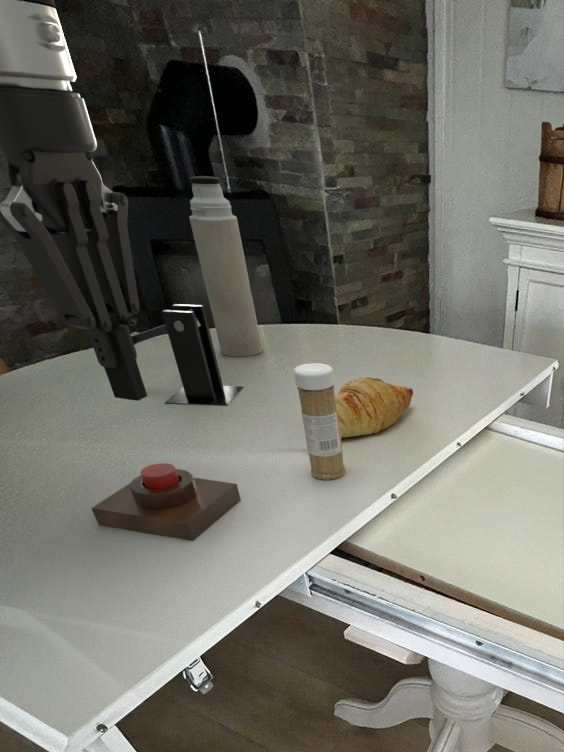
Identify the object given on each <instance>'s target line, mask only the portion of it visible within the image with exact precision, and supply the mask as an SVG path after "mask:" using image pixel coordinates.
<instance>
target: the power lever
mask: <svg viewBox="0 0 564 752" xmlns="http://www.w3.org/2000/svg"><path fill="white" fill-rule="evenodd" d="M187 311H193V309H190V310H187ZM194 314H195V313H194ZM195 318H196V321H197V325H198V327H200V326H201V324H200V322H199V320H198V318H197V316H196V314H195ZM130 334H131V337H132V340H133V343H134V346H136V345H137V344H139V343H141V342H145V341H147V340H151V339H153V338H155V337H159V336H161V335H165V334H168V332H167V329H166V325H165V324H162V325H159V326H157V327H153V328H150V329H147V330H145V331H142V332H138V331H134V332H132V333H130Z"/></svg>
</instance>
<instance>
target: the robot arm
mask: <svg viewBox="0 0 564 752" xmlns="http://www.w3.org/2000/svg"><path fill="white" fill-rule="evenodd" d="M76 80H77V74H76V72H75V68H74V65H73V62H72V59H71V55H70V52H69V48H68V45H67V41H66V38H65V36H64V32H63V29H62V25H61V22H60V19H59V16H58V13H57V9H56V4H55V0H0V152H1V154H2V155H3V157H4V161H5V169H6V178H7V182H8V184H9V186H10V190H9V192H8V194H7V195H6V197H5V199H4V200H0V222H1V224H2V225H3V226H4V227H5V228H6V229H7V230H8V231H9V233H10V234H12V236H13V238H14V239H15V241H16V242H17V244H18V246H19V247H20V249H21V251H22V253H23V254H24V256H25V258H26V260H27V261H28V264H29V265H30V267H31V268H32V270H33V271H34V273H35V275H36V277H37V279H38V281H39V282H40V284H41V286H42V287H43V289H44V291H45V292H46V294H47V296H48V298H49V299H50V301H51V303H52V305H53V306H54V308H55V310H56V312H57V313H58V315H59V317H60V319H61V320H62V322H63V323H64V325H65V326H67V327H72V328H73V327H74V328H77V329H82V330H85V332H86V333H87V335H88V337H89V339H90V343H91V346H92V348H93V351H94V354H95V356H96V359H97V362H98V364H99V365H100V367H103V369H104V370H105V374H106V376H107V379H108V382H109V385H110V388H111V390H112V393H113V396H114V398H115V399H123V400H129V401H136V402H139V401H141V400H142V399H144V398H147V397H148V393H147V390H146V387H145V384H144V381H143V378H142V375H141V372H140V368H139V364H138V362H137V359H138V356H137V350H136V347H135V345H134V343H133V340H132V337H131V334H132V333H131V331H130V327H135V326H136V325H137V324H138V318H137V317H133V315H134V314H135V315H138V314H139V313H140V310H141V309H140V301H139V300H140V299H139V295H138V288H137V287H138V286H137V280H136V274H135V267H134V262H133V261H134V260H133V254H132V248H131V242H130V235H129V228H128V213H129V200H128V197H127V196H126V194H125V193H123V192H119V191H118V192H116V191H113V190H112V189H110V188H109V187H108V186H106V185H105V184H104V183H103V179H102V176H101V173H100V171H99V170H98V169H97V167H96V165H95V163H94V161H93V158H92V157H91V153H93V152H95V151H96V149H97V147H98V143H97V139H96V137H95V133H94V129H93V125H92V123H91V120H90V116H89V113H88V108H87V105H86V102H85V99H84V98H83V97H81V95H80V93H79V92H75V91H73V89H72V86H71V84H70V82H71V83H73V82H74V83H75V82H76Z"/></svg>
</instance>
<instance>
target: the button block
mask: <svg viewBox="0 0 564 752" xmlns="http://www.w3.org/2000/svg"><path fill="white" fill-rule="evenodd" d="M176 471H177V474H178V477H179V480H180V483H178V484H177V485H175V486H173V487H170V488H167V489H157V490H152V489H147V488H146V486H145V484H144V481H143V478H142V475H141V474H140V475H139V476H137V477H136V478H134V479H133V480H132V481H131V482H130V483H128V484H126V485H125V486H122V488H120V489H119V490H117V491H116V492H113V494H111V495H109V496H108V497H106V498H104V499H103V500H101V501H100V502H99V503H97V504H96V505H94V506H92V507H91V511H92V514H93V516H94V517H95V520H96V523H97V524H98V526H99V527H105V528H113V529H117V530H125V531H130V532H137V533H142V534H149V535H155V536H159V537H160V536H161V537H168V538H173V539H174V538H175V539H178V540H185V541H190V542H194V541H195V540H196V539H197V538H198V537H200V536H201V535H202V534H203V533H205V532H206V531H207V530H208V529H209V528H210V527H211V526H212V525H214V524H215V523H216V522H218V520H220V519H221V518H222V517H224V516H225V515H226V513H228V512H229V511H230V510H231V509H232V508H234V507H235V506H236V505H237V504H238V503H239V502H241V501H242V499H241V494H240V490H239V487H238V484H237V483H233V482H227V481H221V480H214V479H207V478H199V477H194V474H192V473H191V472H189V471H188V470H185V469H180V468H179V469H178V468H176Z"/></svg>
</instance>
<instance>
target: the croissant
mask: <svg viewBox="0 0 564 752" xmlns="http://www.w3.org/2000/svg"><path fill="white" fill-rule="evenodd" d="M334 396H335V402H336V409H337V416H338V424H339V427H340V435H341V439H343V438H351V437H360V436H366V435H373V434H377V433H379V432H380V431H383V430H385V429H387V428H389V427H390V426H391V425H393V424H395V423H396V422H397V421H398V420H399V417H401V416H402V414H403V413H404V412H405V411H406V410H407V409H408V408H409V407H410V406H411V402H412V397H413V396H414V390H413V388H410V387H408V386H401V385H393V384H391V383H388V382H385V381H384V380H382V379H380V378H377V377H376V378H373V377H359V378H357V379H353V380H349V381H348V382H346V383H345V384H344V385H343V386H342V387H341V388H340V389H339V392H338V394H334Z"/></svg>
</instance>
